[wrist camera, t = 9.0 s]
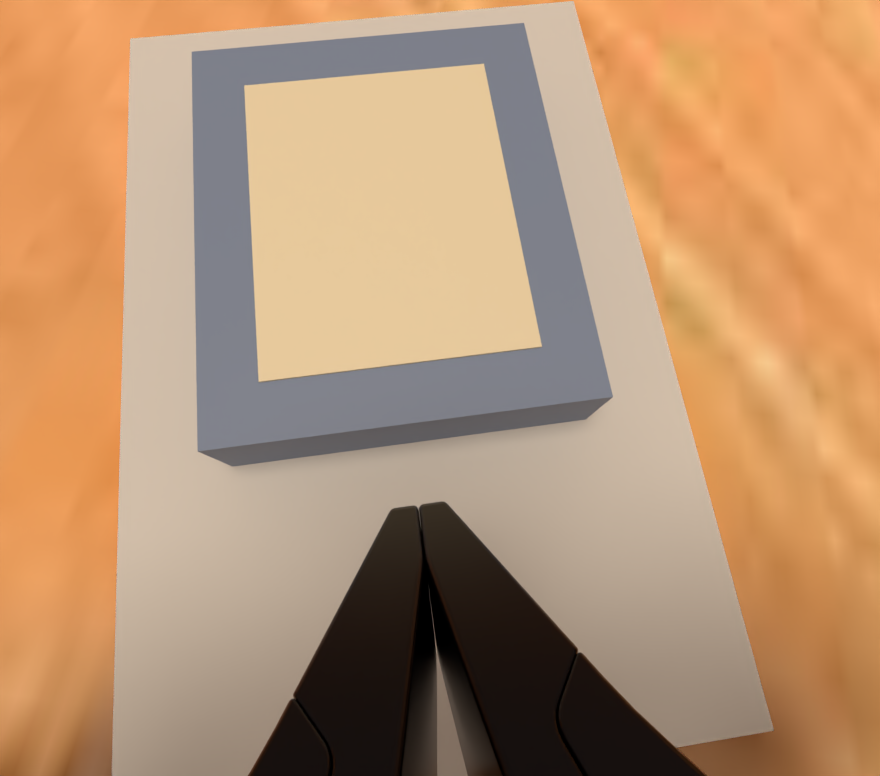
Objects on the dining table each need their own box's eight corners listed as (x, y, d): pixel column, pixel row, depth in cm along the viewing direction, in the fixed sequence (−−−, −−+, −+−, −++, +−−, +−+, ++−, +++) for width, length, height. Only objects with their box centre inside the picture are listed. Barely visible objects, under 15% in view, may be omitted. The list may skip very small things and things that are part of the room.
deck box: (614, 396, 13) (524, 20, 17) (196, 450, 13) (190, 49, 16) (585, 419, 16) (512, 86, 19) (232, 466, 15) (220, 113, 18)
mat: (764, 725, 14) (774, 731, 14) (118, 837, 13) (109, 845, 13) (570, 11, 21) (573, 1, 20) (136, 48, 20) (130, 38, 19)
